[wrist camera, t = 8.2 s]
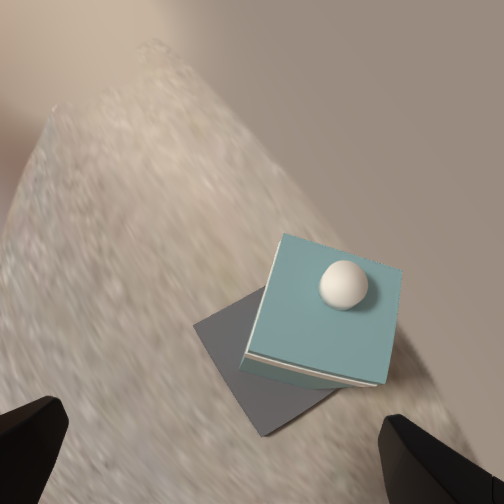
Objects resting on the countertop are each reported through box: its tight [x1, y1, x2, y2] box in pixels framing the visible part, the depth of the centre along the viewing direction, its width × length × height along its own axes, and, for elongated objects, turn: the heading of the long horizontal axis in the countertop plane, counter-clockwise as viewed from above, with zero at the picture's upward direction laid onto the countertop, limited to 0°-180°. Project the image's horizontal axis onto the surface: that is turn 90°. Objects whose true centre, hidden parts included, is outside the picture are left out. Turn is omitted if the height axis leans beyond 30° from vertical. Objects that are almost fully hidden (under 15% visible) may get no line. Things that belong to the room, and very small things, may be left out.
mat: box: [193, 286, 337, 437], centre depth 21 cm, size 9×9×1 cm
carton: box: [239, 233, 402, 389], centre depth 15 cm, size 5×5×12 cm
